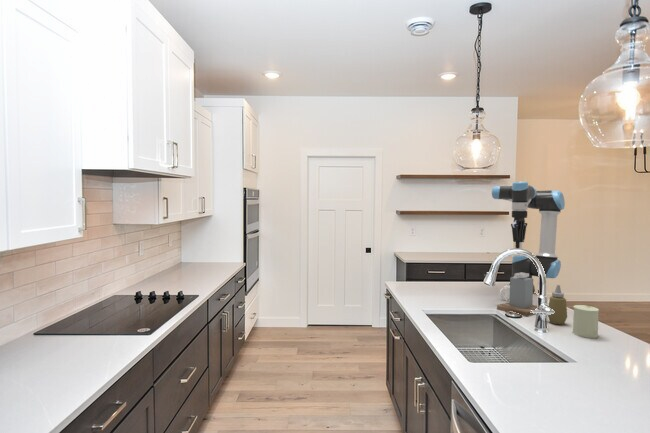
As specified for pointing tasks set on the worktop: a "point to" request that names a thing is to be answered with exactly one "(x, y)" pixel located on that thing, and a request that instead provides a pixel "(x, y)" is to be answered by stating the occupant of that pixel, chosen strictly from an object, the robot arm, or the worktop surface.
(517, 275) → the pump head
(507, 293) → the cup
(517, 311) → the walnut caddy
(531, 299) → the soap dispenser
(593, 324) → the can
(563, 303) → the squeeze bottle
